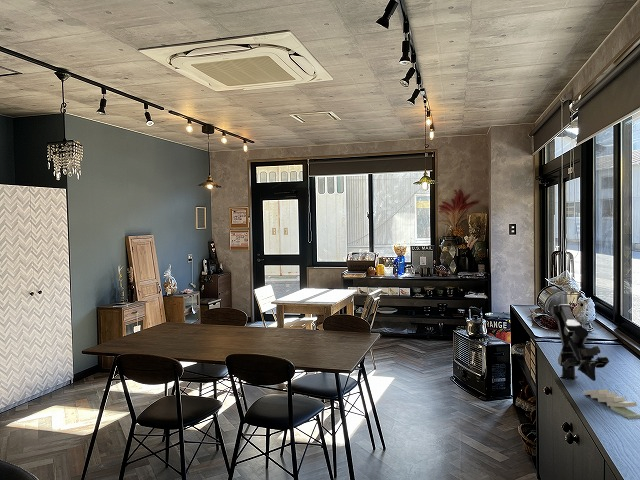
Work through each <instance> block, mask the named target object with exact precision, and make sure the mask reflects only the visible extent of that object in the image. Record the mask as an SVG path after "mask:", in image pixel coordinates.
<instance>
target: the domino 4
mask: <svg viewBox="0 0 640 480" xmlns="http://www.w3.org/2000/svg"><path fill="white" fill-rule="evenodd" d="M606 406H607V407H611V406H614V407H625V408H632V407H637V406H638V405H637V402H636V401H621V402H606Z"/></svg>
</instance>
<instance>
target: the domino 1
mask: <svg viewBox="0 0 640 480" xmlns="http://www.w3.org/2000/svg"><path fill="white" fill-rule="evenodd" d="M606 393H611V391H610V389H609V388H608V389H607V388H605V389H593V390H592V389H591V390H583V394H584V395H585V396H586V395H590V394H606ZM590 396H591V395H590Z"/></svg>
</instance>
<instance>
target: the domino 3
mask: <svg viewBox="0 0 640 480" xmlns="http://www.w3.org/2000/svg"><path fill="white" fill-rule="evenodd" d="M621 401H625V402H627V401H626V397H625V396H617V397H609V398H597V402H598V403H607V402H621Z"/></svg>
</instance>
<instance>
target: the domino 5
mask: <svg viewBox="0 0 640 480" xmlns="http://www.w3.org/2000/svg"><path fill="white" fill-rule="evenodd" d="M610 410H612V411H613V412H615V413H618V414H619V415H621V416H623V417H625V418H626V419H638V418H639V419H640V414H639V413H638V412H634V411H633V410H631V409H629V408H628V407H614V406H610Z"/></svg>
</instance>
